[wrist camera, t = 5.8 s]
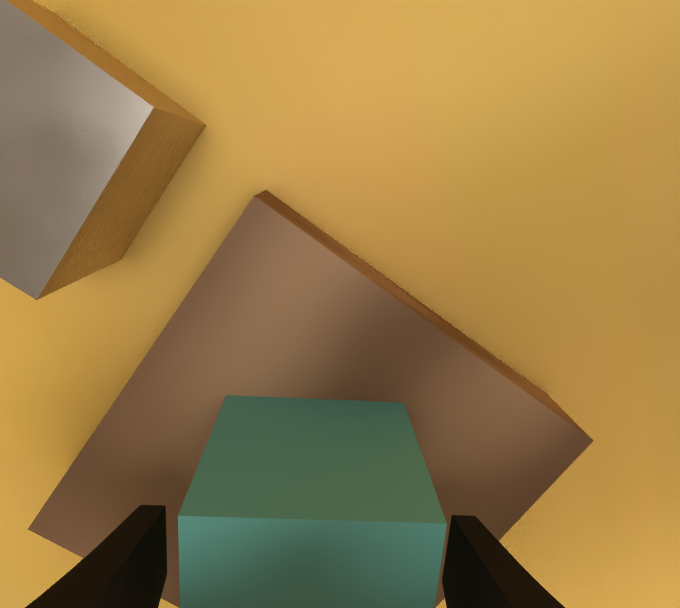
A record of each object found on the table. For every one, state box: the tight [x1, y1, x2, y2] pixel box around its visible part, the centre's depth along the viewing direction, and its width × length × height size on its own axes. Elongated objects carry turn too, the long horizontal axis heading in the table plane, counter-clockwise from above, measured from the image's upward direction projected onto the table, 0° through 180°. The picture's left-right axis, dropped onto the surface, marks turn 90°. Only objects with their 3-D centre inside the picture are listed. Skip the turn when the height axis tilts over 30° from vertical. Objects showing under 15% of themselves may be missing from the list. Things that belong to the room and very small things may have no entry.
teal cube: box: [178, 395, 447, 608], centre depth 12 cm, size 5×5×5 cm
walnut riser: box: [28, 190, 593, 608], centre depth 16 cm, size 12×12×3 cm
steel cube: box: [0, 0, 206, 300], centre depth 13 cm, size 5×5×5 cm
